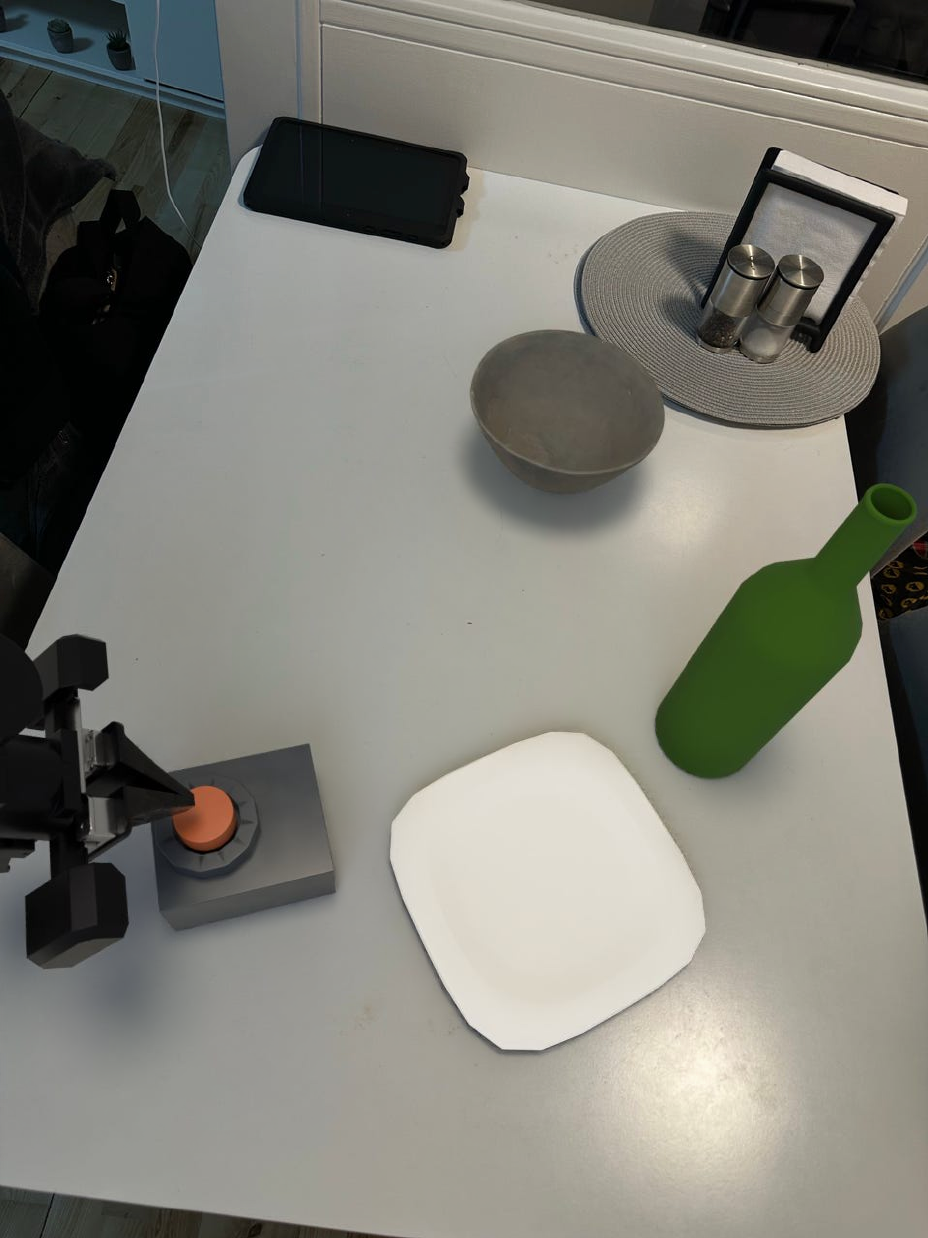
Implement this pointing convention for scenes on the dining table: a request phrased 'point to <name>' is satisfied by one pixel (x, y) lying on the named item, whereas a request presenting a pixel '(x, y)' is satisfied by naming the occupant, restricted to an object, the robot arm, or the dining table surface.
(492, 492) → the dining table surface
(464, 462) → the dining table surface
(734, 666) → the wine bottle
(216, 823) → the button
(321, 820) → the control block
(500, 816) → the plate
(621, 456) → the bowl
